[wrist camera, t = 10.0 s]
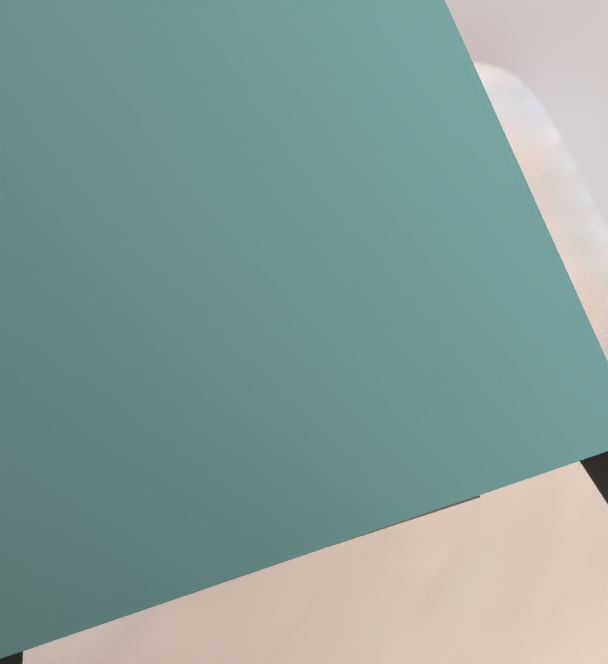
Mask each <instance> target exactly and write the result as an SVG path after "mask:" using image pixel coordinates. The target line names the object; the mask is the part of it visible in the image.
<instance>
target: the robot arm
mask: <svg viewBox="0 0 608 664" xmlns="http://www.w3.org/2000/svg"><path fill="white" fill-rule="evenodd" d="M580 462H581V464H582V465H583V467H584V468H585V470H586V471H587V473H588V475H589V476H590V478H591V479H592V481H593V482H594V484H595V485H596V487H597V488H598V490H599V491H600V493H601V494H602V496H603V497H604V499H605V501H606V502H607V504H608V451H606V452H604V453H601V454H598V455H595V456H592V457H589V458H586V459H583V460H580ZM22 662H23V651H21V652H18V653H16V654H13V655H10V656H7V657H4V658H1V659H0V664H22Z"/></svg>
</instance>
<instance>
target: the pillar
mask: <svg viewBox="0 0 608 664" xmlns="http://www.w3.org/2000/svg"><path fill="white" fill-rule="evenodd" d="M606 451H608V362H607V360H606V357H605V355H604V353H603V351H602V349H601V346H600V344H599V342H598V340H597V337H596V335H595V333H594V331H593V329H592V326H591V324H590V322H589V320H588V318H587V315H586V313H585V311H584V309H583V306H582V304H581V302H580V300H579V298H578V295H577V293H576V291H575V289H574V286H573V284H572V282H571V280H570V278H569V275H568V273H567V271H566V269H565V266H564V264H563V262H562V260H561V258H560V255H559V253H558V251H557V249H556V247H555V244H554V242H553V240H552V238H551V235H550V233H549V231H548V229H547V227H546V224H545V222H544V220H543V218H542V215H541V213H540V211H539V209H538V207H537V204H536V202H535V200H534V198H533V195H532V193H531V191H530V189H529V187H528V184H527V182H526V180H525V178H524V176H523V173H522V171H521V169H520V167H519V164H518V162H517V160H516V158H515V156H514V153H513V151H512V149H511V147H510V144H509V142H508V140H507V138H506V136H505V133H504V131H503V129H502V127H501V124H500V122H499V120H498V118H497V116H496V113H495V111H494V109H493V107H492V104H491V102H490V100H489V98H488V96H487V93H486V91H485V89H484V87H483V85H482V82H481V80H480V78H479V76H478V73H477V71H476V69H475V67H474V65H473V62H472V60H471V58H470V56H469V53H468V51H467V49H466V47H465V45H464V42H463V40H462V38H461V36H460V34H459V31H458V29H457V27H456V25H455V22H454V20H453V18H452V16H451V14H450V11H449V9H448V7H447V5H446V3H445V0H0V659H1V658H4V657H7V656H10V655H13V654H16V653H18V652H21V651H24V650H27V649H30V648H33V647H36V646H39V645H42V644H45V643H48V642H51V641H54V640H56V639H59V638H62V637H65V636H68V635H71V634H74V633H77V632H80V631H83V630H86V629H89V628H92V627H95V626H97V625H100V624H103V623H106V622H109V621H112V620H115V619H118V618H121V617H124V616H127V615H130V614H133V613H135V612H138V611H141V610H144V609H147V608H150V607H153V606H156V605H159V604H162V603H165V602H168V601H171V600H173V599H176V598H179V597H182V596H185V595H188V594H191V593H194V592H197V591H200V590H203V589H206V588H209V587H212V586H214V585H217V584H220V583H223V582H226V581H229V580H232V579H235V578H238V577H241V576H244V575H247V574H250V573H252V572H255V571H258V570H261V569H264V568H267V567H270V566H273V565H276V564H279V563H282V562H285V561H288V560H291V559H293V558H296V557H299V556H302V555H305V554H308V553H311V552H314V551H317V550H320V549H323V548H326V547H329V546H331V545H334V544H337V543H340V542H343V541H346V540H349V539H352V538H355V537H358V536H361V535H364V534H367V533H369V532H372V531H375V530H378V529H381V528H384V527H387V526H390V525H393V524H396V523H399V522H402V521H405V520H408V519H410V518H413V517H416V516H419V515H422V514H425V513H428V512H431V511H434V510H437V509H440V508H443V507H446V506H448V505H451V504H454V503H457V502H460V501H463V500H466V499H469V498H472V497H475V496H478V495H481V494H484V493H486V492H489V491H492V490H495V489H498V488H501V487H504V486H507V485H510V484H513V483H516V482H519V481H522V480H525V479H527V478H530V477H533V476H536V475H539V474H542V473H545V472H548V471H551V470H554V469H557V468H560V467H563V466H565V465H568V464H571V463H574V462H577V461H580V460H583V459H586V458H589V457H592V456H595V455H598V454H601V453H604V452H606Z"/></svg>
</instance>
